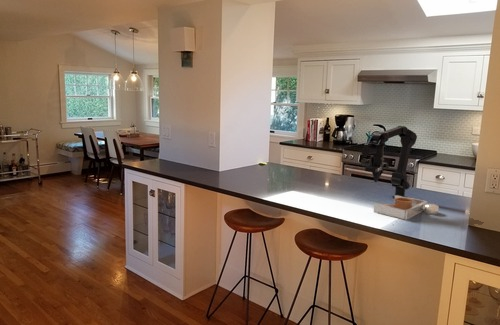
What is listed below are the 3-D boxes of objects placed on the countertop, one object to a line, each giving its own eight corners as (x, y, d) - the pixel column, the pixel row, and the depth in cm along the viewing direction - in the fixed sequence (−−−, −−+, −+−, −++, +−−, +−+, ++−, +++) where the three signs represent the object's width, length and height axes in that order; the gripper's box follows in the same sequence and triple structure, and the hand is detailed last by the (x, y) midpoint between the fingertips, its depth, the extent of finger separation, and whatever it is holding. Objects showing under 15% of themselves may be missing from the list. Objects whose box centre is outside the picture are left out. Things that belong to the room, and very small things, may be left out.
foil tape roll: (426, 210, 202) (427, 203, 201) (439, 212, 197) (440, 205, 197) (422, 212, 197) (423, 205, 196) (435, 215, 193) (436, 208, 192)
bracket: (408, 210, 200) (409, 198, 199) (412, 215, 192) (414, 202, 191) (373, 208, 202) (374, 196, 201) (376, 213, 194) (377, 200, 193)
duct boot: (395, 202, 215) (395, 194, 214) (426, 209, 203) (427, 201, 202) (373, 211, 196) (374, 203, 195) (406, 219, 184) (407, 211, 183)
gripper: (371, 151, 222) (369, 177, 225) (356, 155, 209) (354, 182, 211) (390, 153, 215) (387, 180, 217) (375, 157, 201) (373, 185, 204)
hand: (375, 182), depth 213 cm, fingers closed
